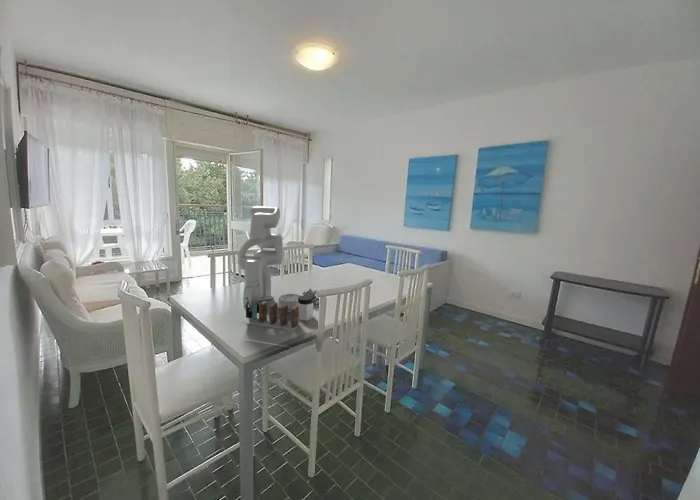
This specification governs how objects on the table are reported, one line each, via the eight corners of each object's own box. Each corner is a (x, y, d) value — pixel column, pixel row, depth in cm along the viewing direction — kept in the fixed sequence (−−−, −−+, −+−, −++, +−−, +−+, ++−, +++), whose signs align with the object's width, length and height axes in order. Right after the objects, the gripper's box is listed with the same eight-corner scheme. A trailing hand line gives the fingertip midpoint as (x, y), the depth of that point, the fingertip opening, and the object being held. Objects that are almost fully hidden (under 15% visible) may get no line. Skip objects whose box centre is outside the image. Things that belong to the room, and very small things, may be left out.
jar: (306, 313, 166) (306, 293, 164) (315, 318, 161) (316, 297, 159) (294, 318, 160) (294, 297, 158) (303, 322, 154) (304, 301, 152)
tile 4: (280, 325, 148) (280, 307, 146) (284, 322, 153) (284, 304, 151) (283, 326, 148) (283, 307, 146) (287, 322, 152) (287, 304, 151)
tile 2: (259, 322, 151) (258, 304, 149) (263, 319, 155) (263, 301, 154) (262, 323, 150) (262, 304, 149) (266, 319, 155) (266, 301, 153)
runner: (242, 323, 150) (242, 322, 150) (252, 315, 160) (252, 315, 160) (294, 331, 144) (294, 330, 144) (301, 323, 153) (301, 322, 153)
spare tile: (248, 321, 152) (248, 302, 150) (254, 317, 157) (253, 299, 155) (251, 321, 152) (251, 303, 150) (256, 317, 156) (256, 300, 155)
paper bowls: (290, 303, 182) (290, 291, 180) (309, 308, 175) (310, 296, 173) (273, 310, 168) (273, 297, 167) (293, 316, 161) (294, 303, 160)
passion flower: (311, 314, 180) (303, 301, 173) (305, 305, 189) (296, 293, 182) (326, 303, 183) (318, 290, 176) (319, 295, 191) (311, 282, 185)
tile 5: (290, 327, 147) (291, 309, 145) (294, 323, 152) (295, 305, 150) (294, 328, 146) (294, 309, 145) (298, 324, 151) (298, 306, 149)
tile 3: (269, 324, 149) (269, 305, 148) (274, 320, 154) (274, 302, 152) (272, 324, 149) (272, 306, 147) (277, 321, 154) (277, 303, 152)
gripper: (255, 278, 160) (255, 308, 163) (236, 286, 143) (236, 320, 146) (267, 279, 158) (267, 310, 161) (249, 288, 142) (250, 322, 145)
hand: (252, 314), depth 154 cm, fingers open, 6 cm apart
